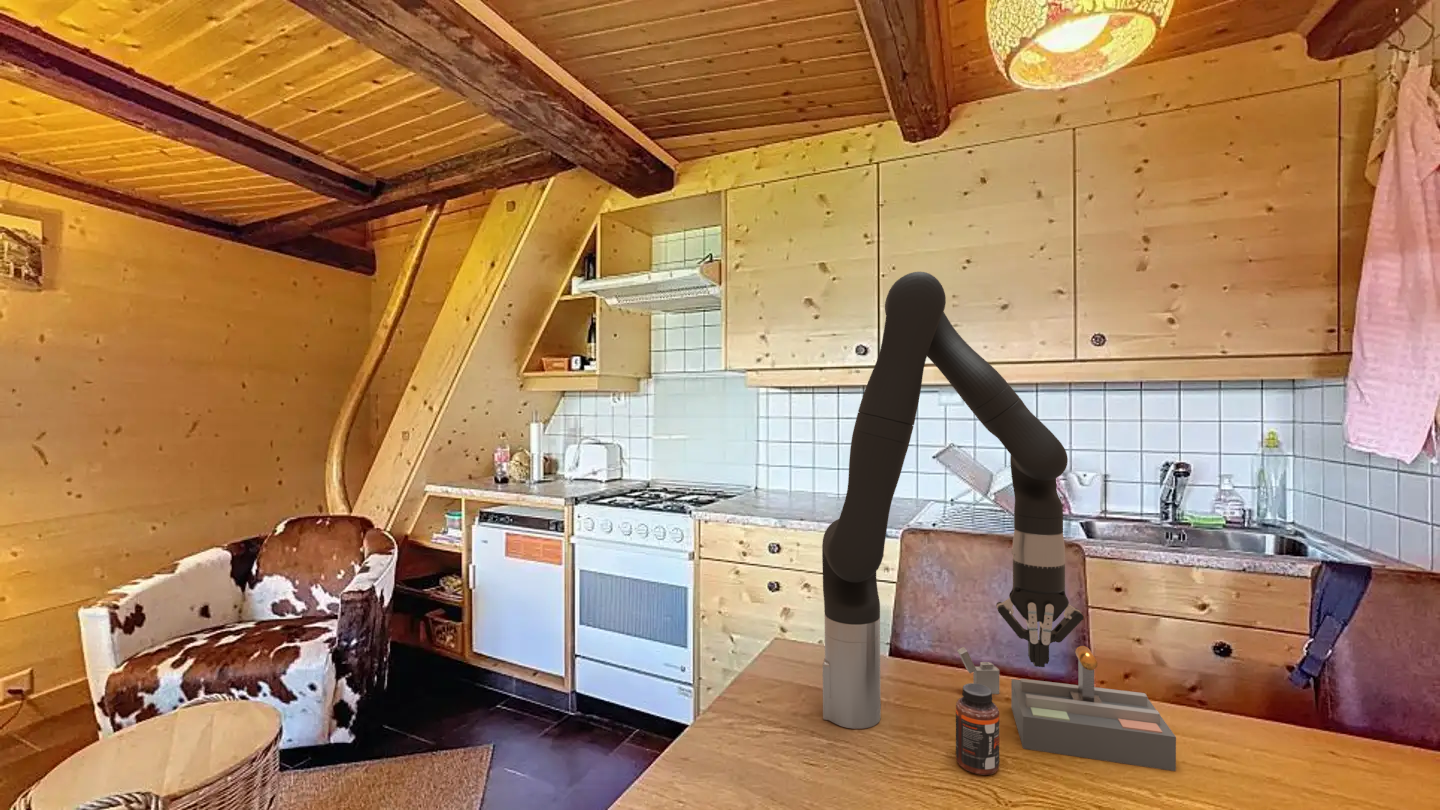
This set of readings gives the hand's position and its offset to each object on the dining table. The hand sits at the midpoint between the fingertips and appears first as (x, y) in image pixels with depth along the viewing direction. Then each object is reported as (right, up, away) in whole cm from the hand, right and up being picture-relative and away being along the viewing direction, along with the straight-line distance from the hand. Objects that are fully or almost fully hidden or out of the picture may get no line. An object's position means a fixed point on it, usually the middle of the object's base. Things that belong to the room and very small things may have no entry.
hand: (1038, 664), depth 101 cm
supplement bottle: (-14, -11, -9) cm, 20 cm away
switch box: (+7, -11, -2) cm, 13 cm away
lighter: (-4, -11, +13) cm, 17 cm away
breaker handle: (+6, -6, -2) cm, 9 cm away
